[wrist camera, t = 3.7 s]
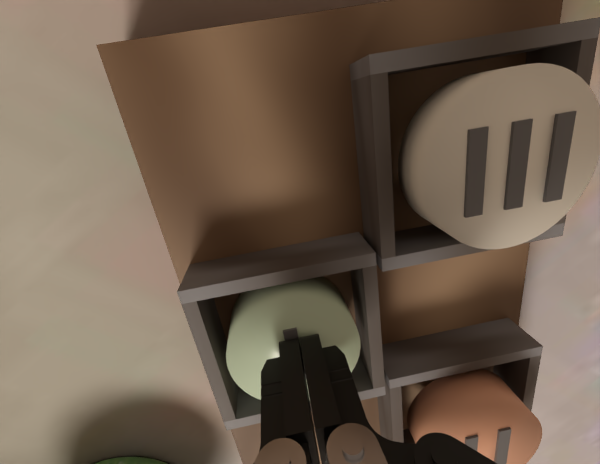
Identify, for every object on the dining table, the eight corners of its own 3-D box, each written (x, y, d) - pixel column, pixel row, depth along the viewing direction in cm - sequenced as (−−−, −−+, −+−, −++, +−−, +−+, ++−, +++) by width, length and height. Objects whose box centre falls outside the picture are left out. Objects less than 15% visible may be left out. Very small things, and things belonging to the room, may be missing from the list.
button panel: (252, 453, 19) (251, 535, 16) (123, 56, 11) (55, 28, 7) (481, 401, 20) (531, 466, 16) (518, -5, 12) (635, -58, 8)
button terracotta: (408, 454, 16) (429, 503, 14) (405, 381, 14) (429, 426, 12) (502, 432, 16) (535, 477, 14) (512, 358, 14) (552, 397, 12)
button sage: (245, 376, 14) (243, 418, 12) (217, 282, 12) (209, 314, 10) (351, 353, 14) (366, 391, 13) (340, 258, 13) (355, 285, 11)
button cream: (400, 238, 11) (429, 265, 9) (394, 86, 9) (430, 80, 7) (531, 212, 11) (586, 233, 10) (551, 60, 10) (626, 47, 8)
